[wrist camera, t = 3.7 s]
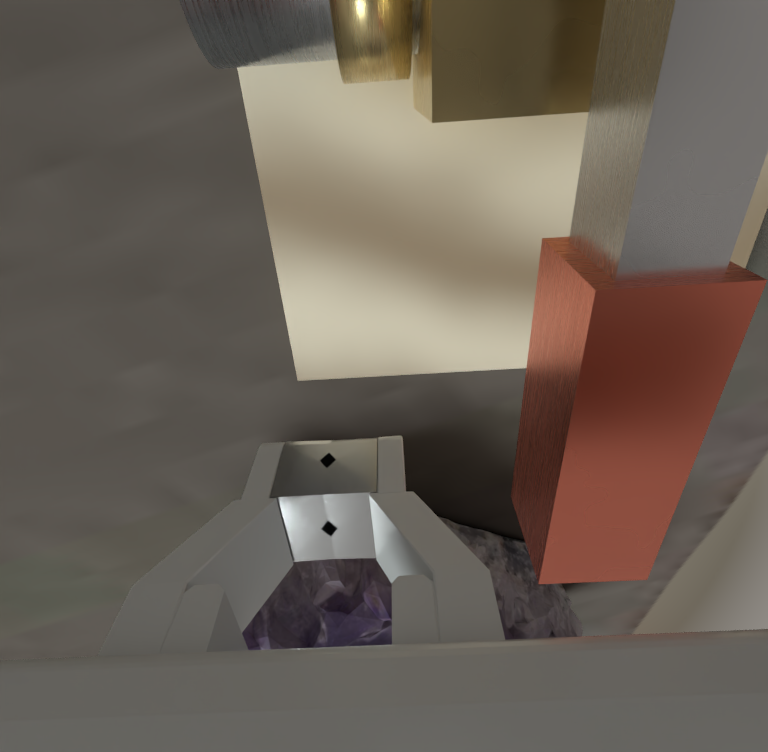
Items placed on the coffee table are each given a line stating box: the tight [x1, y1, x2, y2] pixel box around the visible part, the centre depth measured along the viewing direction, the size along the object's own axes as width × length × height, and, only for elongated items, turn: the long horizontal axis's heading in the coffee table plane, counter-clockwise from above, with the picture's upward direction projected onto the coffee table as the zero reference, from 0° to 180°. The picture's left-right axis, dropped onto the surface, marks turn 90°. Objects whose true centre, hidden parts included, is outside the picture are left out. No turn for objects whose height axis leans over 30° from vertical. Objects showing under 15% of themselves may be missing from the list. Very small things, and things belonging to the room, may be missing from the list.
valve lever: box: [511, 0, 768, 584], centre depth 8 cm, size 13×3×3 cm, turn 4°
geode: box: [242, 517, 583, 650], centre depth 23 cm, size 20×12×10 cm, turn 73°
